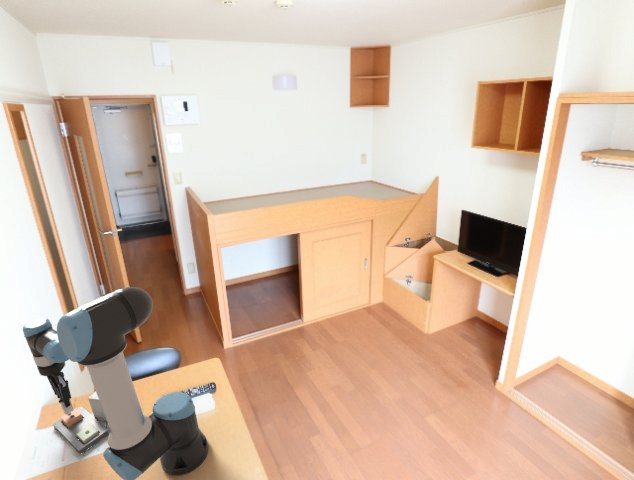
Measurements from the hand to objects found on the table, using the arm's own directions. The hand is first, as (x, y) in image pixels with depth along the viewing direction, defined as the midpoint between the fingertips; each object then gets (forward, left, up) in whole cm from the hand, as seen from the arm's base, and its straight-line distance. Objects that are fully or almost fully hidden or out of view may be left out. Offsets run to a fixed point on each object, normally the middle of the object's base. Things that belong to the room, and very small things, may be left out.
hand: (69, 411), depth 137 cm
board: (-6, 0, -6) cm, 8 cm away
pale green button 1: (-12, 0, -7) cm, 14 cm away
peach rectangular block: (0, 0, -6) cm, 6 cm away
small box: (-6, -10, -6) cm, 13 cm away
